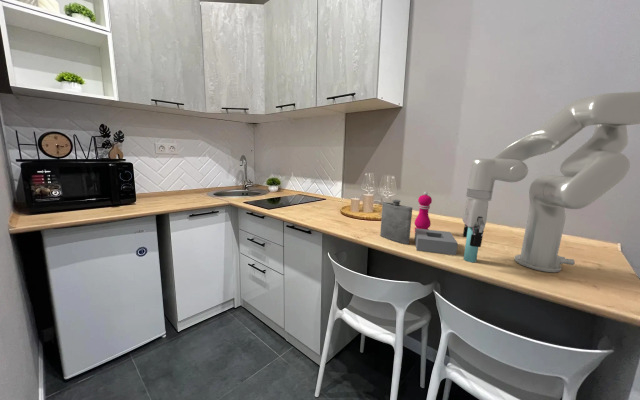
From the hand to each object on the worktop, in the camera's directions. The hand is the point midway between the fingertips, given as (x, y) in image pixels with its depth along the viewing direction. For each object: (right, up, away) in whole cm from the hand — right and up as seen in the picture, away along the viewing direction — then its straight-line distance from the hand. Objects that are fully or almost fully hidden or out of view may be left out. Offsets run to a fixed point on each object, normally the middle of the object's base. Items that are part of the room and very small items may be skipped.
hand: (471, 241), depth 90 cm
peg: (0, -7, +1) cm, 7 cm away
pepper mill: (-5, -1, +33) cm, 33 cm away
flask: (-22, -3, +21) cm, 30 cm away
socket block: (-7, -4, +14) cm, 16 cm away
